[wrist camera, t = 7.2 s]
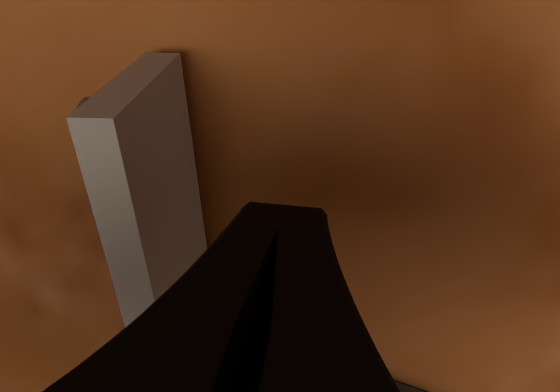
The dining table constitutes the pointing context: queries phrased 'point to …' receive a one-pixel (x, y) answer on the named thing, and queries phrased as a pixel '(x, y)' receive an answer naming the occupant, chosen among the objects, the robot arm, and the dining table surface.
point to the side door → (141, 178)
